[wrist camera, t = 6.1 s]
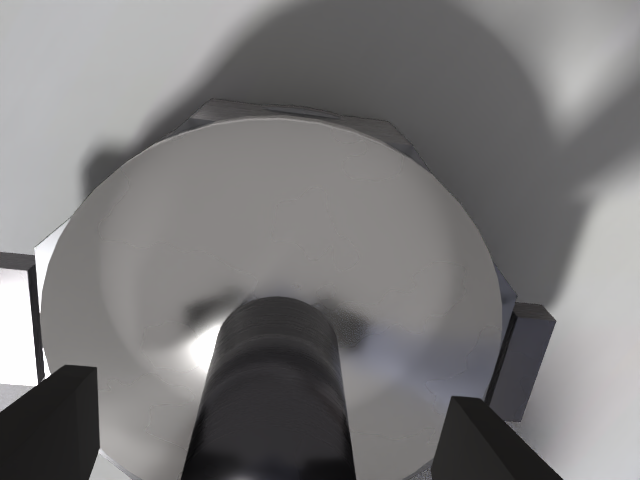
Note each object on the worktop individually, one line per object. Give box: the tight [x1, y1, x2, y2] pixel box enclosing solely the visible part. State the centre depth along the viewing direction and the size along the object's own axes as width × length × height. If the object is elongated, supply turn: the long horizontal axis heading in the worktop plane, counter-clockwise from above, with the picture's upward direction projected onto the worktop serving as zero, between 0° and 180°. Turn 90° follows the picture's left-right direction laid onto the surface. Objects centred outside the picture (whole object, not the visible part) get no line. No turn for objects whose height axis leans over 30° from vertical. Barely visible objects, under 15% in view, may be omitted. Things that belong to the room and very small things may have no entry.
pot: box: [0, 99, 556, 480], centre depth 14 cm, size 14×11×3 cm
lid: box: [40, 115, 502, 480], centre depth 10 cm, size 10×10×5 cm
